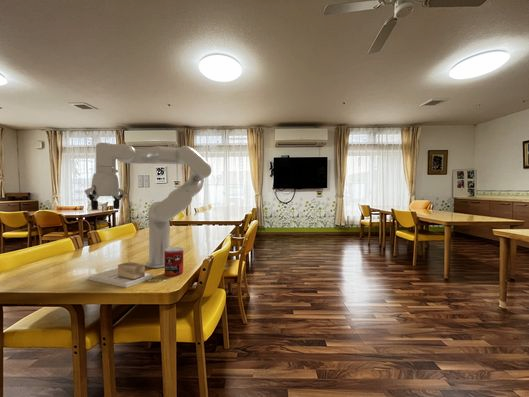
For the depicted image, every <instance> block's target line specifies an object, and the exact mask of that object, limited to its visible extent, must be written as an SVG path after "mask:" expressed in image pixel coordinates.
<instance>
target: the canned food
mask: <svg viewBox="0 0 529 397" xmlns="http://www.w3.org/2000/svg"><path fill="white" fill-rule="evenodd" d="M183 272H184V248H183V247H179V246H178V247H177V246H174V247H170V248H167V249H165V267H164V275H165V276H166V277H176V276H177V275H178V276H180V274H181V275H182V274H183Z"/></svg>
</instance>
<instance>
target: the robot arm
mask: <svg viewBox="0 0 529 397" xmlns="http://www.w3.org/2000/svg"><path fill="white" fill-rule="evenodd" d="M117 160H118V162H120V163H123V164H140V165H141V164H143V165H144V164H149V165H150V164H152V165H155V164H157V165H158V164H162V165H163V164H165V165H167V164H168V165H185V164H186V166H187V167H189V177H188V180H186V181H185V182H184V183H183V184H181V185H180V186H178V187H177V188H176V189H173V190H172V191H171V192H169V194H168V196H167V197H166V198H164V199H163V200H161V201H160V200H159V201H155V202H153V203H152V204H151V205H150V206H149V208H148V213H147V214H148V215H147V216H148V217H147V218H148V261H147V262H146V263H145V268H149V269H159V268H165V249H167V248H171V247H170V246H171V245H170V244H171V242H170V241H171V240H170V239H171V236H170V234H171V227H170V224H171V223H170V221H171V220H172V219H174V218H175V217H177V216H178V215H179V214H181V213H182V212H183V211H184V210H186V209H187V208H188V207H189V206H190V205H191V203H192V201H193V198H194V197H195V196H196V195H198V194H199V193H200V192H201V190H202V189H203V187H204V181H205V179H206V178H208V177H209V176H210V175H211V173H212V167H211V165H210V164H209V162H208V161H206V159H205V158H204V157H202V155H200V154H199V152H197V151H196V150H195V149H194V148H192V147H191V146H188V145H182V146H181V147H173V146H161V145H159V146H158V145H157V146H152V147H148V148H134V147H133V145H130V144H128V143H127V144H126V143H118V144H117V143H109V142H98V143H97V144H96V145H95V173H93V174H92V179H91V186H90V187H89V188H87V189H85V190H84V193H85V195H86V197H87V198H88V199H89V201H90V206H91V207H90V208H91V210H92V211H98V210H99V200H98V199H99V198H100V197H111V198H112V199H113V201H112V202H113V206H112V207H113V209H114V210H120V205H121V203H120V201H121V199H122V198H123V197H124V195H125V190H123V189H121V188H120V185H119V178H118V174H117V173H119V170H118V169H117Z"/></svg>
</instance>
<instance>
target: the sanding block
mask: <svg viewBox="0 0 529 397" xmlns="http://www.w3.org/2000/svg"><path fill="white" fill-rule="evenodd" d="M117 268H118V277H119V278H124V279H129V280H137V279H139V278H142V277H145V273H146V263H145V264H144V263H140V262H139V263H138V262H133V261H128V262H124V263H121V264H117Z"/></svg>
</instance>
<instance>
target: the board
mask: <svg viewBox="0 0 529 397" xmlns="http://www.w3.org/2000/svg"><path fill="white" fill-rule="evenodd" d="M153 276H154V274H153V273H152V274H151V273H147V272H145V277H142V278H139V279H137V280H129V279H124V278H119V277H118V267H116V268H113V269H109V270H106V271H102V272H99V273H95V274H91V275H89V276H88V280H89V281H94V282H98V283H104V284H107V285H113V286H117V287H121V288H129V287H131V286H135V285H137V284H140V283H142V282H146V281H148V280H151V279H153Z"/></svg>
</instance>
